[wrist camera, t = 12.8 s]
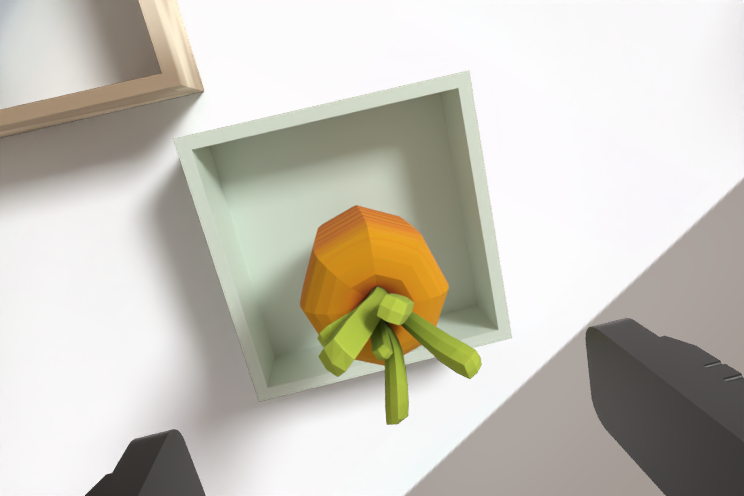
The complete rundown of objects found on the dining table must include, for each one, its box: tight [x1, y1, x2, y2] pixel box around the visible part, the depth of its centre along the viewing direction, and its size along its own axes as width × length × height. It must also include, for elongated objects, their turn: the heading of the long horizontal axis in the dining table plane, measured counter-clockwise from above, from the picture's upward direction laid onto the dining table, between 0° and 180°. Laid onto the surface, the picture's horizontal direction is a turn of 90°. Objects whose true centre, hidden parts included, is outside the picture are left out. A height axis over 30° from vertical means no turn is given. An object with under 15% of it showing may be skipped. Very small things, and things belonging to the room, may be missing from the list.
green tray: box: [173, 71, 512, 402], centre depth 24 cm, size 13×13×4 cm
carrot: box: [300, 205, 482, 425], centre depth 18 cm, size 5×5×15 cm
